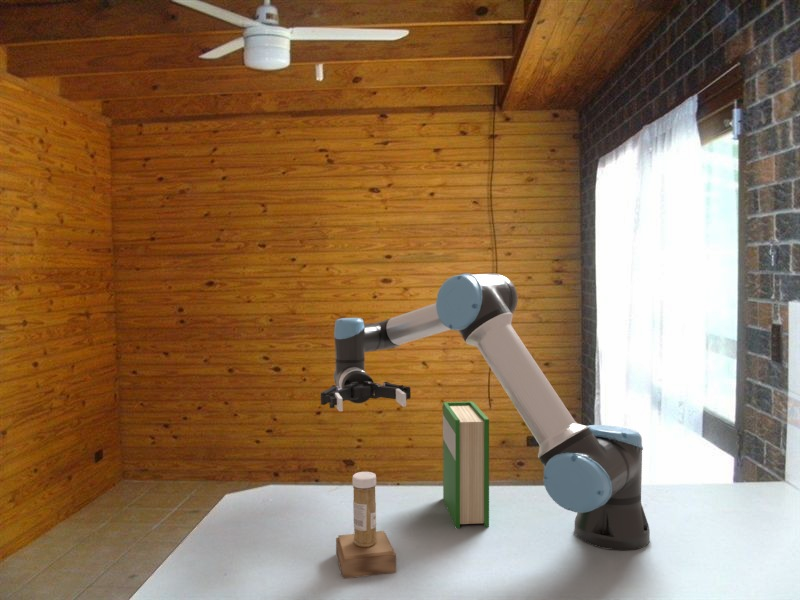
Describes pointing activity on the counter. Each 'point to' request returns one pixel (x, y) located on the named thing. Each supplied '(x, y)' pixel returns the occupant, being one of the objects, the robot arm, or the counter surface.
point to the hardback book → (466, 463)
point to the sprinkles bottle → (364, 509)
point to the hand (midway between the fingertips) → (373, 402)
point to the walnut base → (365, 556)
